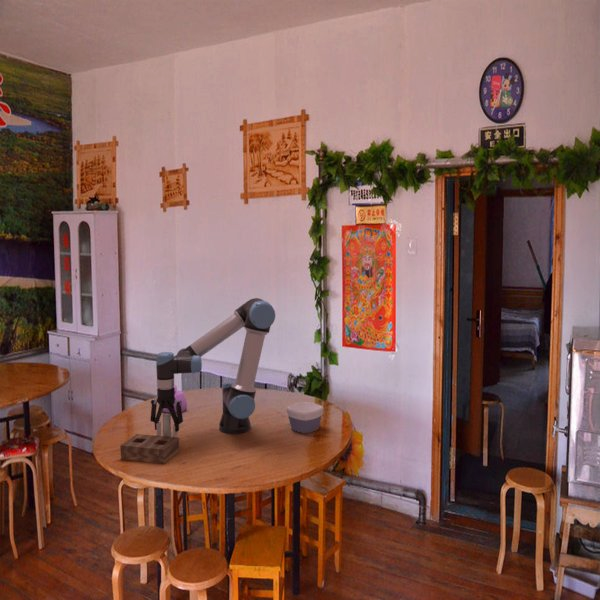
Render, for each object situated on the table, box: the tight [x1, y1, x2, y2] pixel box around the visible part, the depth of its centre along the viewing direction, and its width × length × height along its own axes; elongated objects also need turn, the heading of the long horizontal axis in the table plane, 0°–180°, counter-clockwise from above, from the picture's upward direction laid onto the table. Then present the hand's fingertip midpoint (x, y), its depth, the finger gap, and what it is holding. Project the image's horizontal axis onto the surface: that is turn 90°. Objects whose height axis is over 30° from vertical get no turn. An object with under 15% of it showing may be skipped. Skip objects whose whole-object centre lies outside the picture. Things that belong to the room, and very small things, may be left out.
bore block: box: [119, 433, 180, 465], centre depth 253 cm, size 20×14×6 cm
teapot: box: [162, 384, 188, 414], centre depth 315 cm, size 13×20×11 cm
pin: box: [162, 413, 172, 437], centre depth 264 cm, size 3×3×14 cm
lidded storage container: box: [286, 401, 324, 434], centre depth 286 cm, size 15×15×11 cm
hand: (167, 437), depth 264 cm, fingers open, 7 cm apart
